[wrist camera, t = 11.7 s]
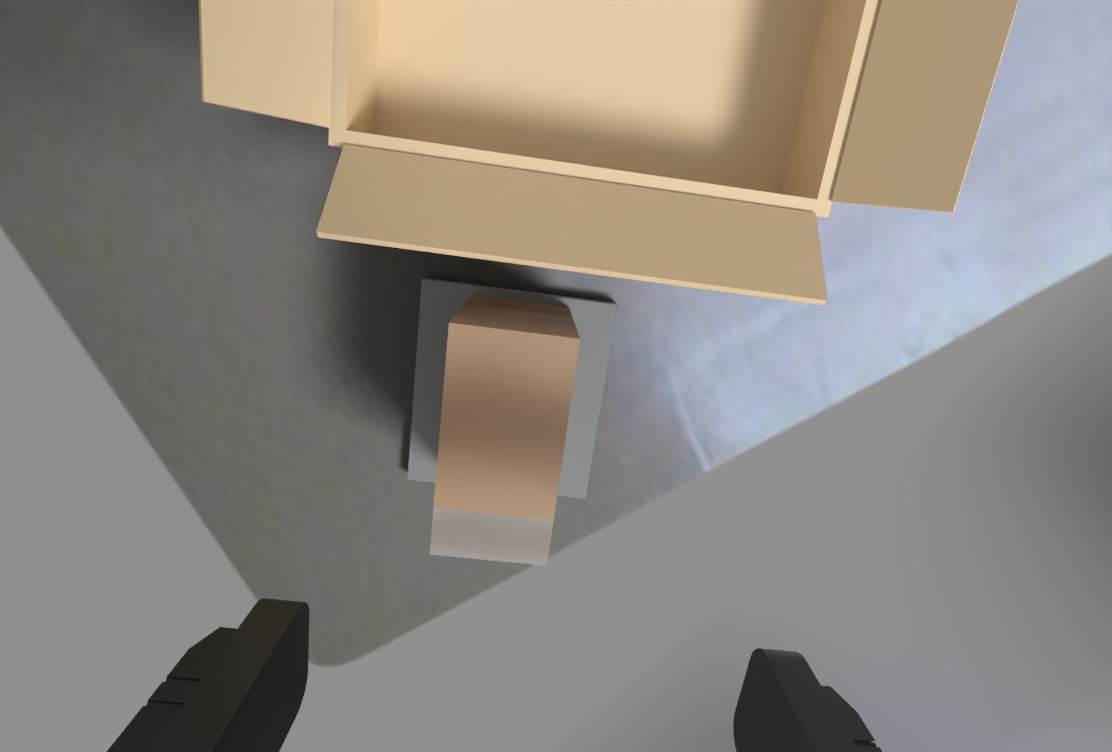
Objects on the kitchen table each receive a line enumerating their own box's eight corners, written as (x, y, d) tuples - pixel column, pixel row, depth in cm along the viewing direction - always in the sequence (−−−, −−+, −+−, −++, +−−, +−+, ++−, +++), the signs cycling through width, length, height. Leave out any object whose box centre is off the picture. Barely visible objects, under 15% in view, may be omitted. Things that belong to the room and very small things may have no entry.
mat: (424, 277, 26) (421, 279, 26) (615, 302, 27) (617, 304, 26) (410, 474, 29) (407, 479, 28) (584, 492, 30) (585, 498, 29)
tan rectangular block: (471, 294, 26) (449, 322, 19) (569, 307, 26) (580, 338, 20) (454, 474, 28) (429, 554, 22) (544, 483, 29) (546, 565, 22)
